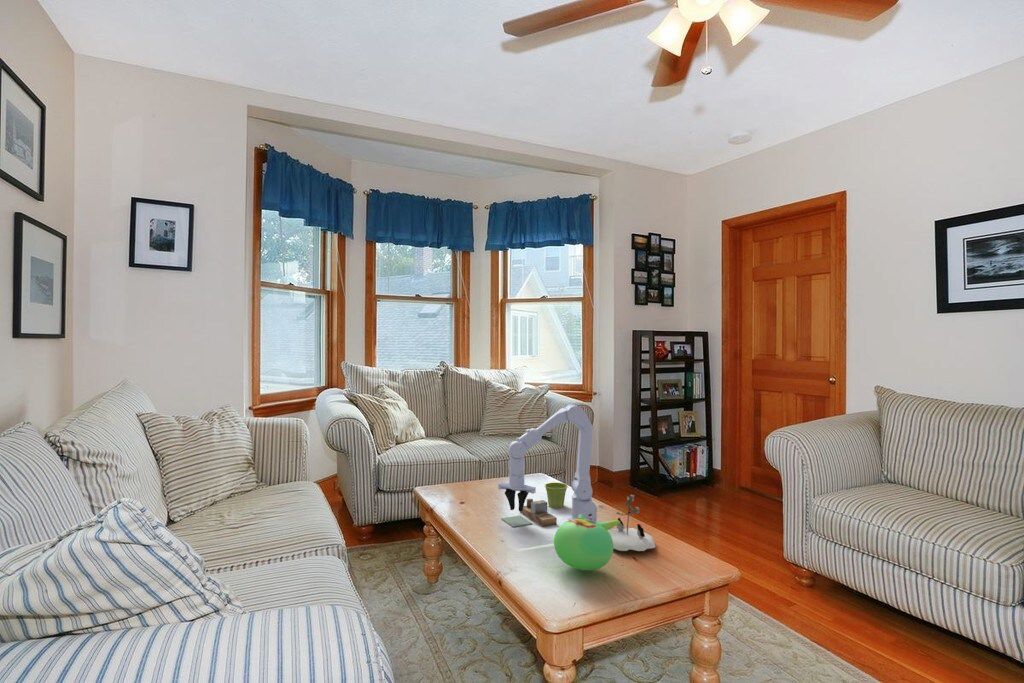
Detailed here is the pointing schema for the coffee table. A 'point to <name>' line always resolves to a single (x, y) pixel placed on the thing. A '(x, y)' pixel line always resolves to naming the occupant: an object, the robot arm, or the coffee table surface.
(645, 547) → the figurine
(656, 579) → the coffee table surface
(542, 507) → the grey rectangular block
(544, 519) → the plane body
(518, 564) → the coffee table surface
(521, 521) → the mat
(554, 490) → the plant pot
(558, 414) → the robot arm
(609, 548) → the round green toy
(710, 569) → the coffee table surface
